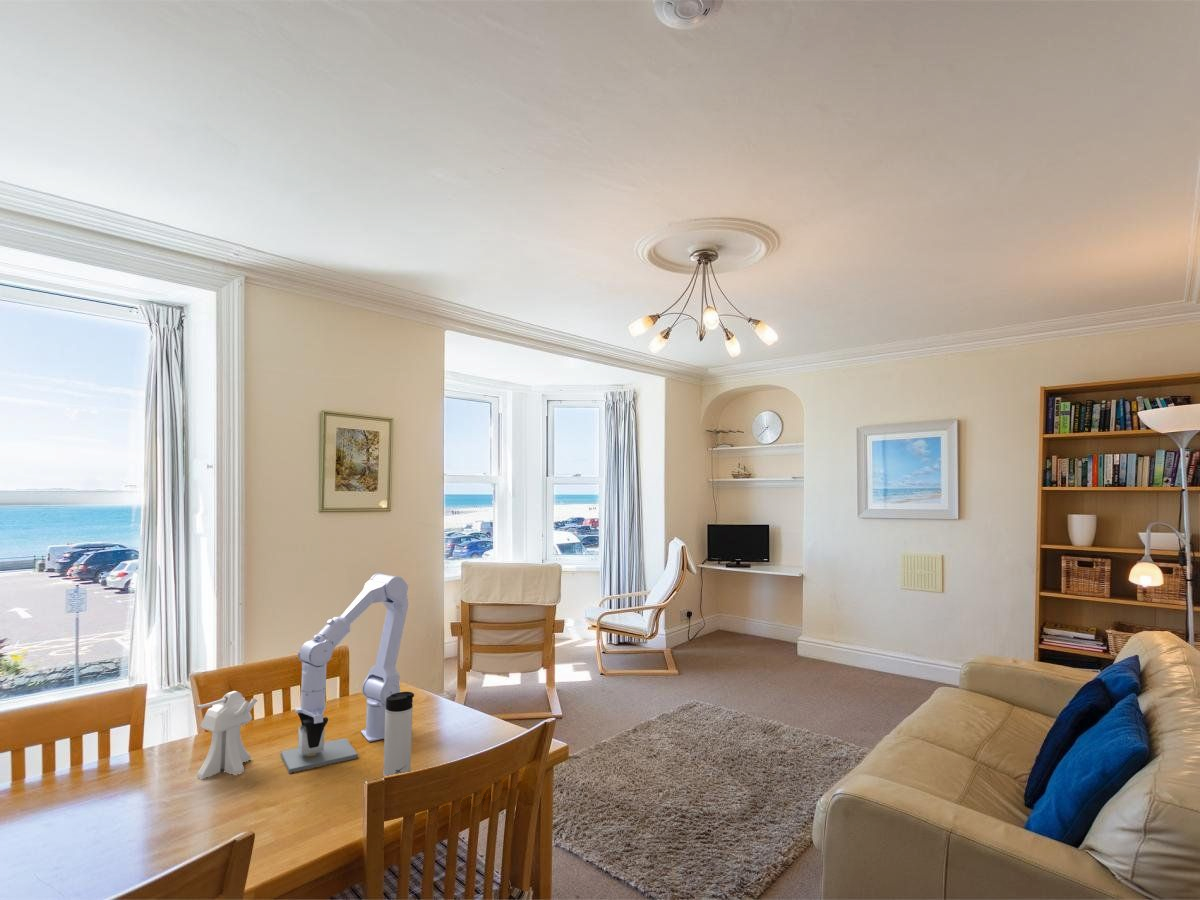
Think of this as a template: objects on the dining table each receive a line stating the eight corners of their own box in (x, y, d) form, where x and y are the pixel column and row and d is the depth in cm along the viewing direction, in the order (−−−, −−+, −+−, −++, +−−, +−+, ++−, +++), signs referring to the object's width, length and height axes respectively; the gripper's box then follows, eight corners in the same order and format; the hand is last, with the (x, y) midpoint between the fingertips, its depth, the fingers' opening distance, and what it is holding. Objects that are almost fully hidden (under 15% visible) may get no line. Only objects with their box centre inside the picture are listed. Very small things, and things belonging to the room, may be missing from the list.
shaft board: (345, 741, 174) (346, 717, 174) (357, 757, 164) (358, 732, 164) (280, 755, 164) (281, 729, 165) (289, 773, 155) (290, 746, 155)
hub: (319, 743, 167) (320, 722, 167) (323, 751, 162) (324, 728, 163) (297, 748, 164) (298, 726, 164) (301, 755, 159) (302, 733, 160)
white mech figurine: (179, 774, 153) (183, 697, 154) (233, 753, 165) (237, 682, 166) (209, 786, 147) (213, 707, 148) (263, 764, 159) (266, 690, 160)
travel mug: (403, 785, 150) (406, 698, 151) (377, 782, 151) (380, 696, 152) (416, 773, 156) (419, 690, 157) (391, 770, 158) (394, 687, 158)
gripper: (291, 683, 167) (288, 736, 167) (302, 699, 156) (299, 756, 155) (319, 679, 171) (317, 730, 171) (332, 694, 160) (330, 750, 159)
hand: (311, 742), depth 163 cm, fingers closed on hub, 5 cm apart
